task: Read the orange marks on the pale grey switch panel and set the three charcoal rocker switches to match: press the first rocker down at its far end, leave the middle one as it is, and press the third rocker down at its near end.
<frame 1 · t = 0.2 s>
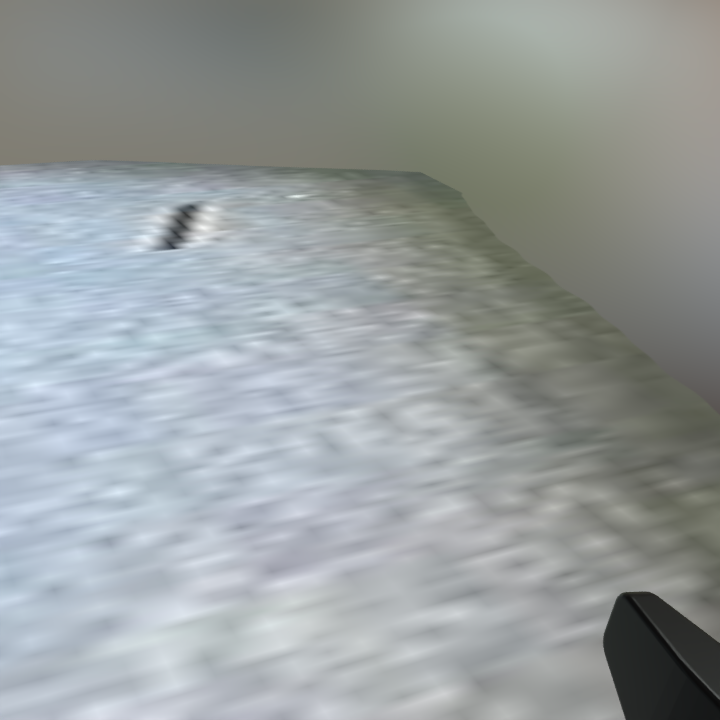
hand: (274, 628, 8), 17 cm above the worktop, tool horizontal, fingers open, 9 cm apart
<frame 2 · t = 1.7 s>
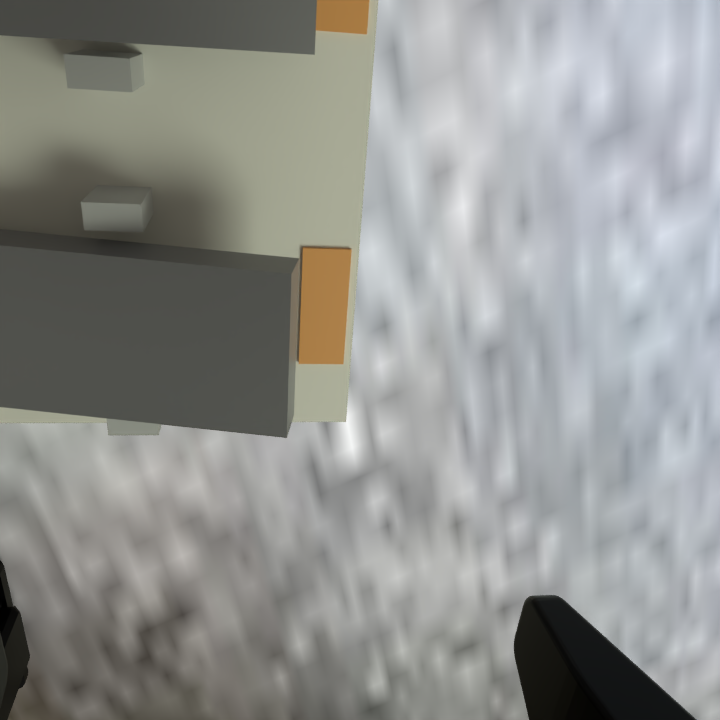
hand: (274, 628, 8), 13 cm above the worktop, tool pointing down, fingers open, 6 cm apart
rocker 1: (117, 332, 15), point 5 cm above the worktop, hinge at -11.5°
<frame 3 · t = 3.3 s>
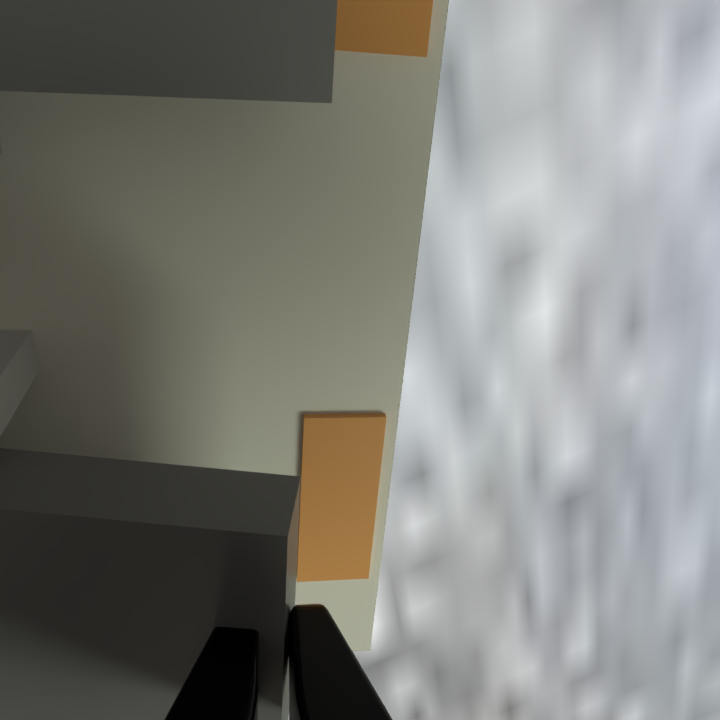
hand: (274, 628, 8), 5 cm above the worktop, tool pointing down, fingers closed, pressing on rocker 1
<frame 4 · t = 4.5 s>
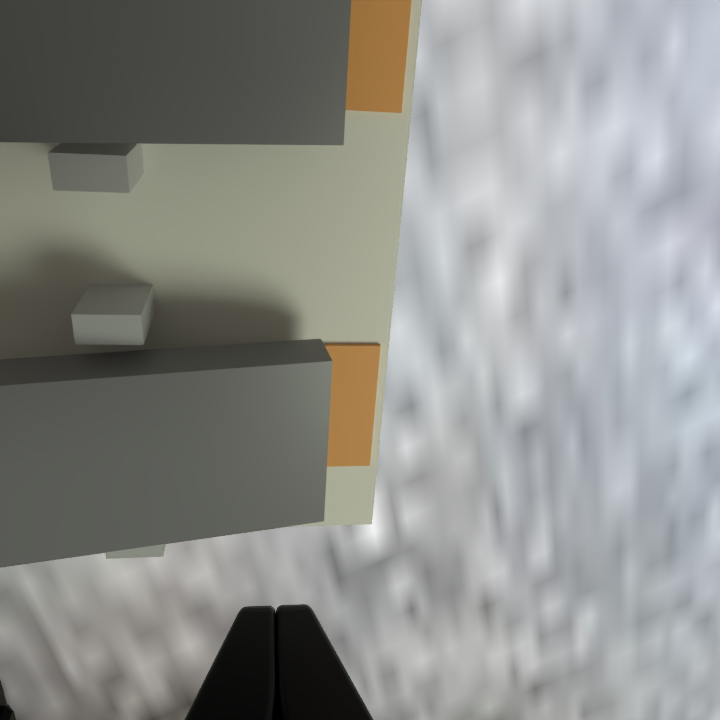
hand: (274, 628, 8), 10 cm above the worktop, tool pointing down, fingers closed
rocker 1: (124, 453, 13), point 5 cm above the worktop, hinge at 9.1°
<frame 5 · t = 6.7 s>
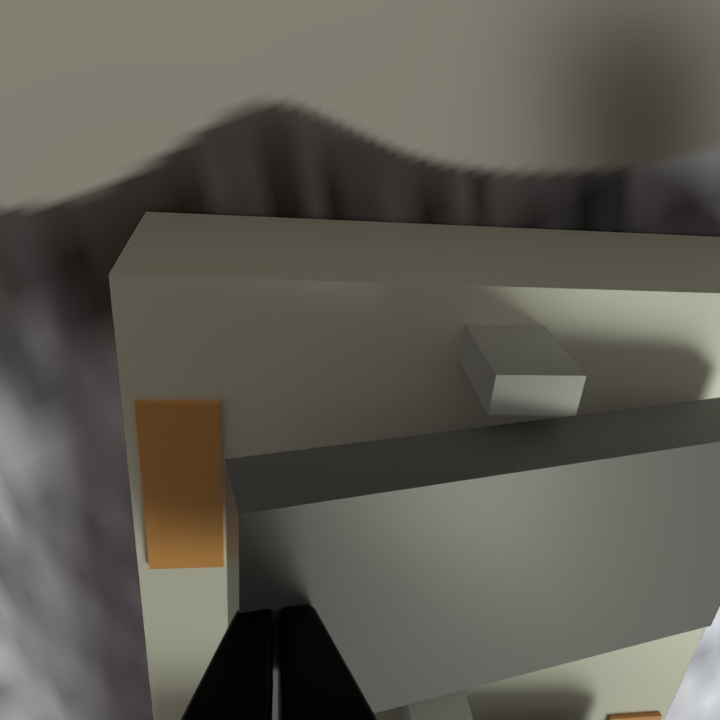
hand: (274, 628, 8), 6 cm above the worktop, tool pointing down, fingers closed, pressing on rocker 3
switch panel: (394, 656, 17), on the worktop
rocker 3: (512, 557, 10), point 5 cm above the worktop, hinge at 11.5°, touching gripper
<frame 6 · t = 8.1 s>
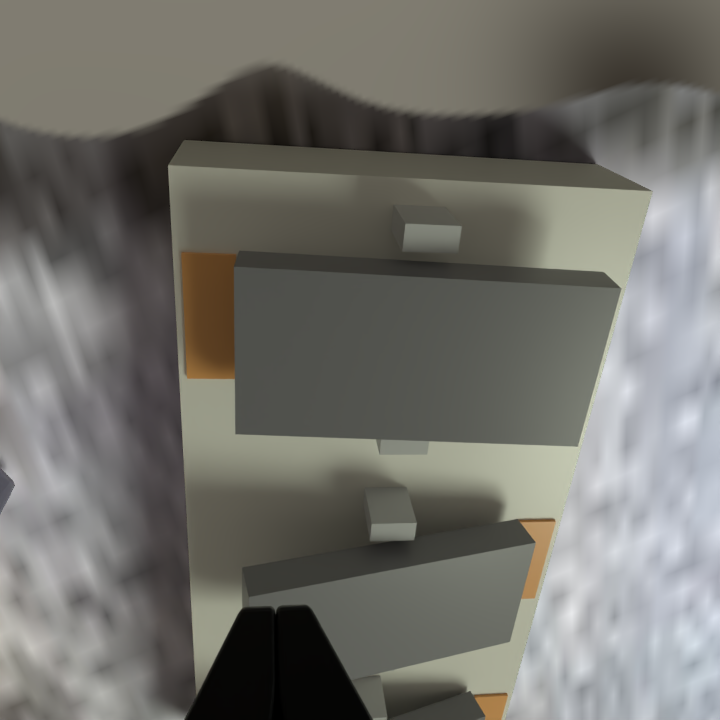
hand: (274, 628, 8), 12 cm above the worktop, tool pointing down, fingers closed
switch panel: (364, 499, 23), on the worktop
rocker 3: (417, 353, 15), point 5 cm above the worktop, hinge at -3.8°
rocker 2: (388, 608, 19), point 5 cm above the worktop, hinge at 11.5°
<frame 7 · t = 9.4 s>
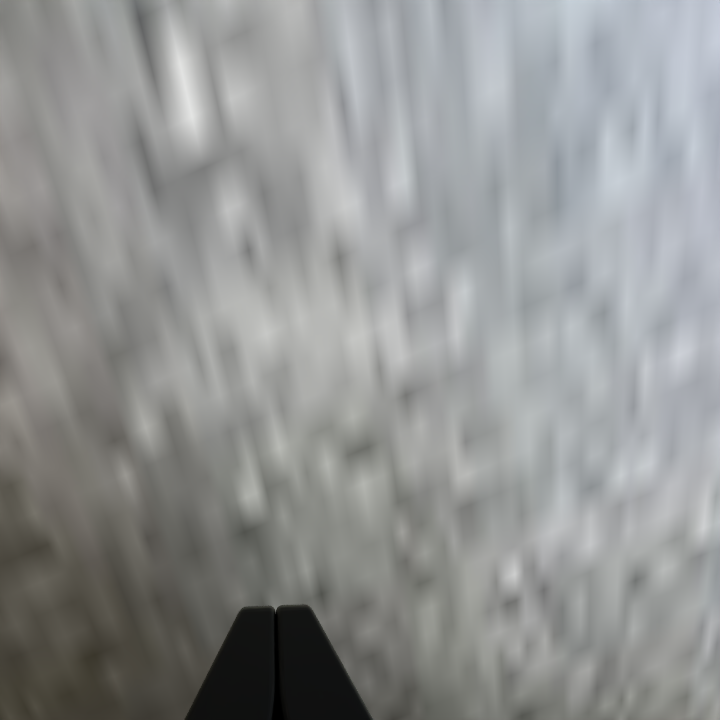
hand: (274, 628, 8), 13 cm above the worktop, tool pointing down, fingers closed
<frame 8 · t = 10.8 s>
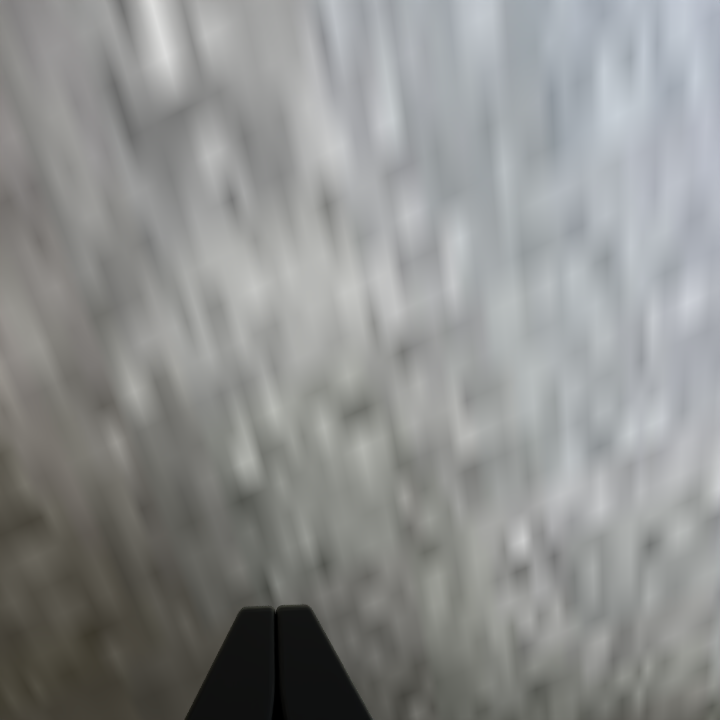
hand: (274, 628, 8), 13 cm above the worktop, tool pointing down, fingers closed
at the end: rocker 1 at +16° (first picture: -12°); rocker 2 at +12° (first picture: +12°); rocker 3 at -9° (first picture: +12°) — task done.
